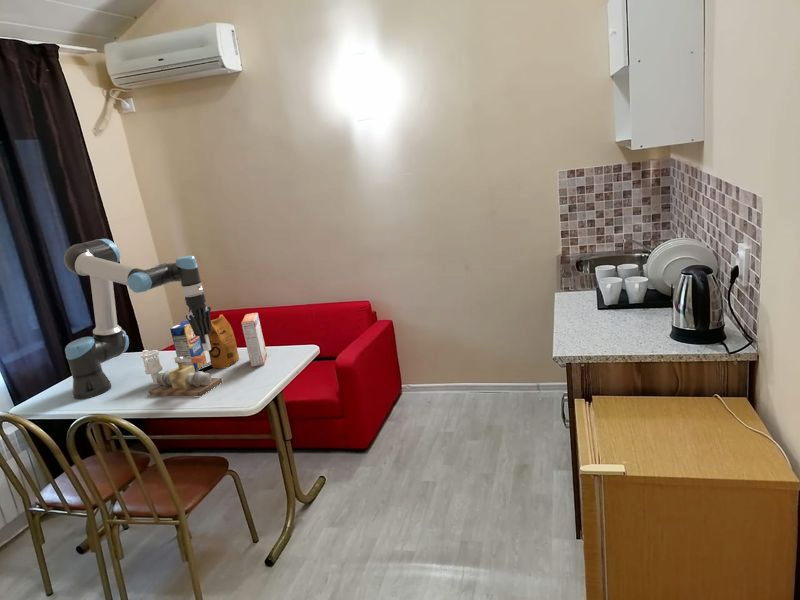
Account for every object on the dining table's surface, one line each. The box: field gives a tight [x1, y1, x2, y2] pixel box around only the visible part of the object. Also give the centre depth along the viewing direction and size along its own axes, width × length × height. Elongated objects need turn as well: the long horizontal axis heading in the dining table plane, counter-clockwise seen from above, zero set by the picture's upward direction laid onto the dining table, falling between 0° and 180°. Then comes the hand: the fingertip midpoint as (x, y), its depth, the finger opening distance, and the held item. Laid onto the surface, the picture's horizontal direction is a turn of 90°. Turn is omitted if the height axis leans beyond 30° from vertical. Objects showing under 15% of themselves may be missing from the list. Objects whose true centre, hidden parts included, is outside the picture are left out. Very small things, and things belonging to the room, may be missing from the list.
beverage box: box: [169, 320, 208, 373], centre depth 264 cm, size 7×11×22 cm, turn 170°
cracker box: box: [240, 312, 268, 368], centre depth 264 cm, size 14×6×21 cm, turn 6°
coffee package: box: [207, 314, 240, 369], centre depth 268 cm, size 10×12×22 cm
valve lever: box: [174, 355, 207, 364], centre depth 240 cm, size 14×3×2 cm, turn 69°
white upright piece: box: [140, 349, 164, 385], centre depth 256 cm, size 7×7×15 cm
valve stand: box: [148, 362, 223, 397], centre depth 243 cm, size 26×14×12 cm, turn 69°
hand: (207, 350), depth 243 cm, fingers closed
